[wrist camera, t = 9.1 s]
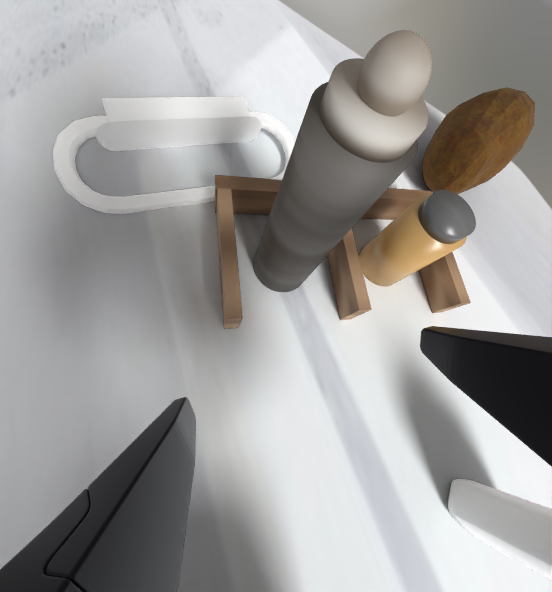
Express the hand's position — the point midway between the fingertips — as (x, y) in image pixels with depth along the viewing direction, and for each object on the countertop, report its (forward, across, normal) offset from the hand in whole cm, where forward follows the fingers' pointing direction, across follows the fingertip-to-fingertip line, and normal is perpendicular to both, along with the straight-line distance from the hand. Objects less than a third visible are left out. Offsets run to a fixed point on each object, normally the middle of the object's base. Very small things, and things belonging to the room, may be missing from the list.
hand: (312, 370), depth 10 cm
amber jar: (+14, +11, -2) cm, 18 cm away
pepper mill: (+13, +2, 0) cm, 14 cm away
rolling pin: (+20, -3, +8) cm, 22 cm away
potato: (+22, +24, +4) cm, 33 cm away
